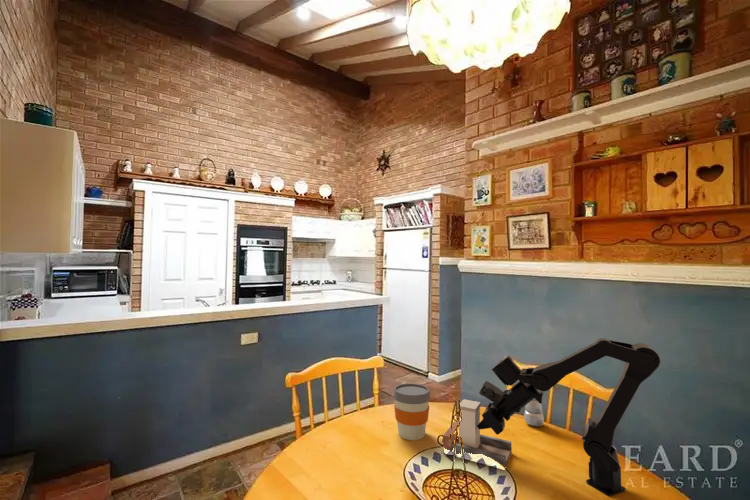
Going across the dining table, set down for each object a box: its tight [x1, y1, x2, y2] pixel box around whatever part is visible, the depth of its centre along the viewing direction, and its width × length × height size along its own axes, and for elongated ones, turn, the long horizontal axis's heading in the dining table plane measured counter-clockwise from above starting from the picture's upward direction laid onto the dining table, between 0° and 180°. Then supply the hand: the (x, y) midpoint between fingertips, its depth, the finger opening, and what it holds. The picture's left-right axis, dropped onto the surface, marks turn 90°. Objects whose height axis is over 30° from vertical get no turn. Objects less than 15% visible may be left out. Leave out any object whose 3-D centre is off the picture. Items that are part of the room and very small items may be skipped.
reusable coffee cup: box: [393, 383, 431, 441], centre depth 123 cm, size 13×13×15 cm
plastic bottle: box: [523, 367, 545, 427], centre depth 130 cm, size 6×7×20 cm
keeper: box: [459, 399, 482, 448], centre depth 111 cm, size 5×6×13 cm
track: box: [442, 421, 513, 468], centre depth 110 cm, size 18×11×6 cm, turn 60°
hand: (478, 427), depth 110 cm, fingers closed, pressing on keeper
